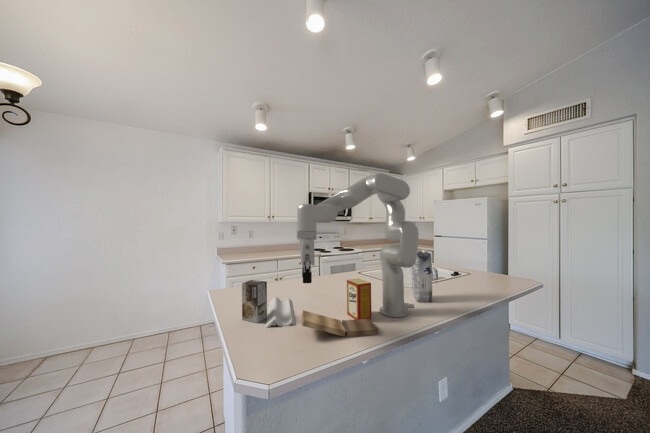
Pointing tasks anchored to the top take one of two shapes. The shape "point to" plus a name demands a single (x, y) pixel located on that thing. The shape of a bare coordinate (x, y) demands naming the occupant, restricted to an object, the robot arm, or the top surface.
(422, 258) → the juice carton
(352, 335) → the walnut board
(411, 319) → the top surface
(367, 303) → the baking soda box
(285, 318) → the crown molding
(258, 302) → the coffee box
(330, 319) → the oak plank
